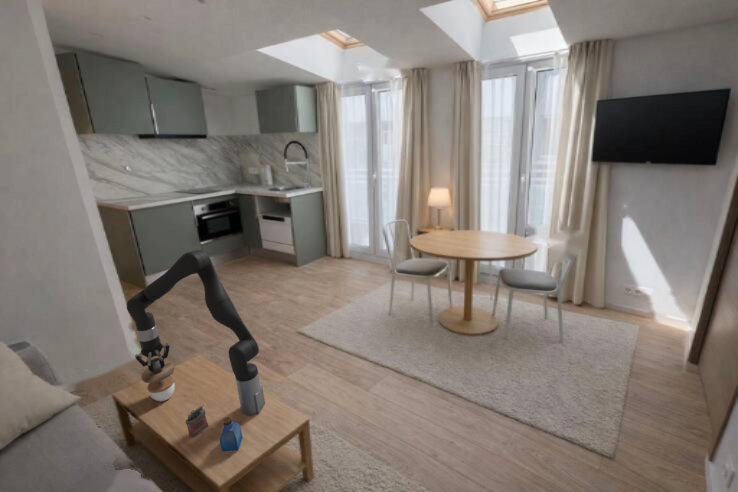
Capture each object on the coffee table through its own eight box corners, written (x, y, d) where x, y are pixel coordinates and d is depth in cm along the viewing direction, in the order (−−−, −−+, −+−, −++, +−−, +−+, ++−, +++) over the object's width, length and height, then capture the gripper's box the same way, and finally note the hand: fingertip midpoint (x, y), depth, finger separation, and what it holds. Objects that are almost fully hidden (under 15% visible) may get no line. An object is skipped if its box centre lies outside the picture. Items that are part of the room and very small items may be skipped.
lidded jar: (181, 389, 172) (177, 372, 170) (167, 405, 162) (163, 388, 159) (160, 388, 173) (156, 372, 171) (145, 404, 163) (140, 387, 160)
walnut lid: (180, 365, 169) (177, 352, 167) (160, 384, 157) (157, 370, 155) (156, 363, 171) (152, 350, 169) (134, 381, 159) (131, 368, 157)
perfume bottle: (226, 438, 143) (221, 414, 139) (242, 437, 144) (238, 413, 140) (221, 452, 137) (216, 427, 134) (238, 450, 138) (233, 425, 134)
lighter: (192, 439, 144) (187, 419, 141) (187, 435, 145) (182, 415, 142) (210, 425, 150) (205, 406, 147) (205, 422, 152) (200, 403, 149)
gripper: (164, 327, 165) (172, 359, 170) (128, 338, 156) (137, 372, 162) (168, 333, 160) (176, 366, 165) (131, 346, 151) (141, 380, 156)
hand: (157, 369), depth 163 cm, fingers closed on walnut lid, 3 cm apart
